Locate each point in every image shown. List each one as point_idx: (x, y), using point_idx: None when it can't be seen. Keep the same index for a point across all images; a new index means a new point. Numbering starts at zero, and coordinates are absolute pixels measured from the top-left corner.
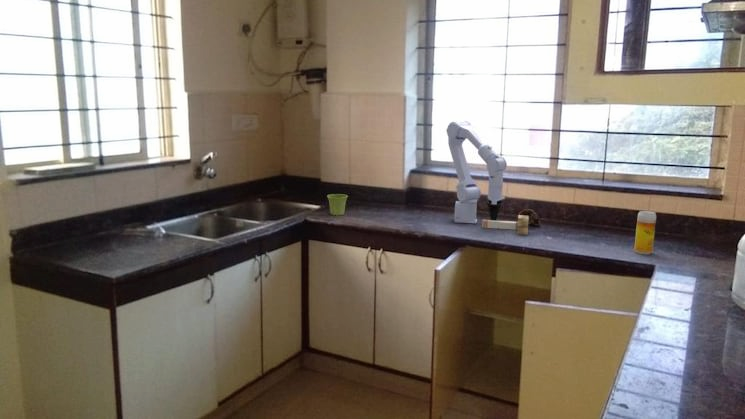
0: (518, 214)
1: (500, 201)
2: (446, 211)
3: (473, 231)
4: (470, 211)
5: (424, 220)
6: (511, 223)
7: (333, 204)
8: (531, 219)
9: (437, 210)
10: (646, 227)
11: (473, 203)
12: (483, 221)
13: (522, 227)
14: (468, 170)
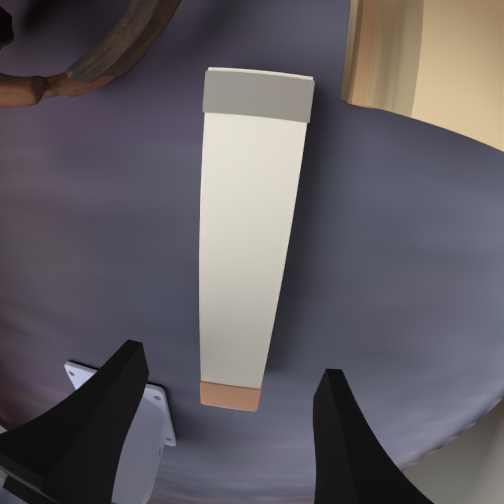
0: (5, 99)
1: (51, 485)
2: (12, 401)
3: (378, 404)
4: (141, 463)
5: (185, 479)
6: (296, 179)
7: None
8: None
9: (20, 415)
10: None
11: (114, 500)
12: (257, 405)
13: None
14: None
